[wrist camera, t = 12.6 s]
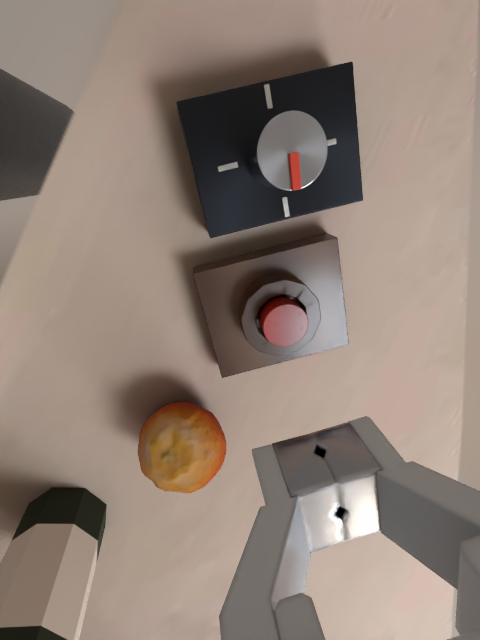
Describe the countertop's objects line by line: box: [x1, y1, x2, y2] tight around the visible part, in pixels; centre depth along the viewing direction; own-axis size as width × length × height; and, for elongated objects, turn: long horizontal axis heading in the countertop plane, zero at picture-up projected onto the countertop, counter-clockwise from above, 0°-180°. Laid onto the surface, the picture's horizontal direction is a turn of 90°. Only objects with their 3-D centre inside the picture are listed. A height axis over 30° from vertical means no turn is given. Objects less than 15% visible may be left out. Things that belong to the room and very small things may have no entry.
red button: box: [259, 297, 308, 347], centre depth 29 cm, size 4×4×2 cm
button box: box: [193, 233, 349, 378], centre depth 31 cm, size 12×10×4 cm
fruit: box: [138, 401, 226, 493], centre depth 34 cm, size 8×8×8 cm
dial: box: [247, 110, 328, 191], centre depth 23 cm, size 4×4×4 cm
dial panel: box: [176, 62, 363, 238], centre depth 27 cm, size 12×9×3 cm
